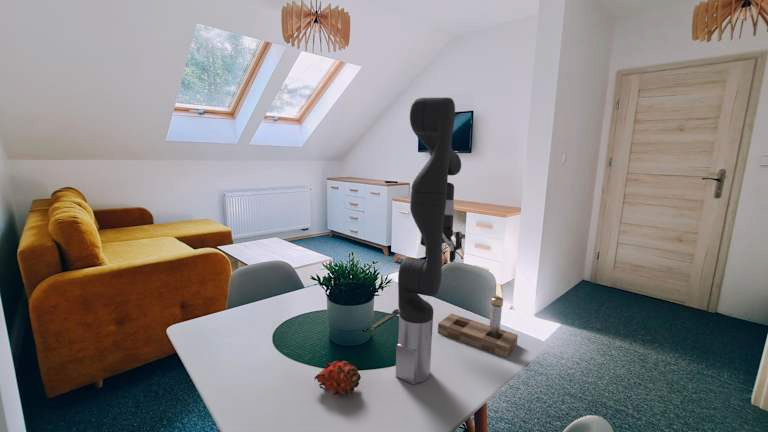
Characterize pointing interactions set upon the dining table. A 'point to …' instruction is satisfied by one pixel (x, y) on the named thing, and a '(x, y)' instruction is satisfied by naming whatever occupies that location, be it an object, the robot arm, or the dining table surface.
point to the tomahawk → (384, 319)
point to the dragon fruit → (339, 377)
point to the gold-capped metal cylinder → (495, 316)
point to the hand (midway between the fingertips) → (439, 259)
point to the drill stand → (477, 335)
